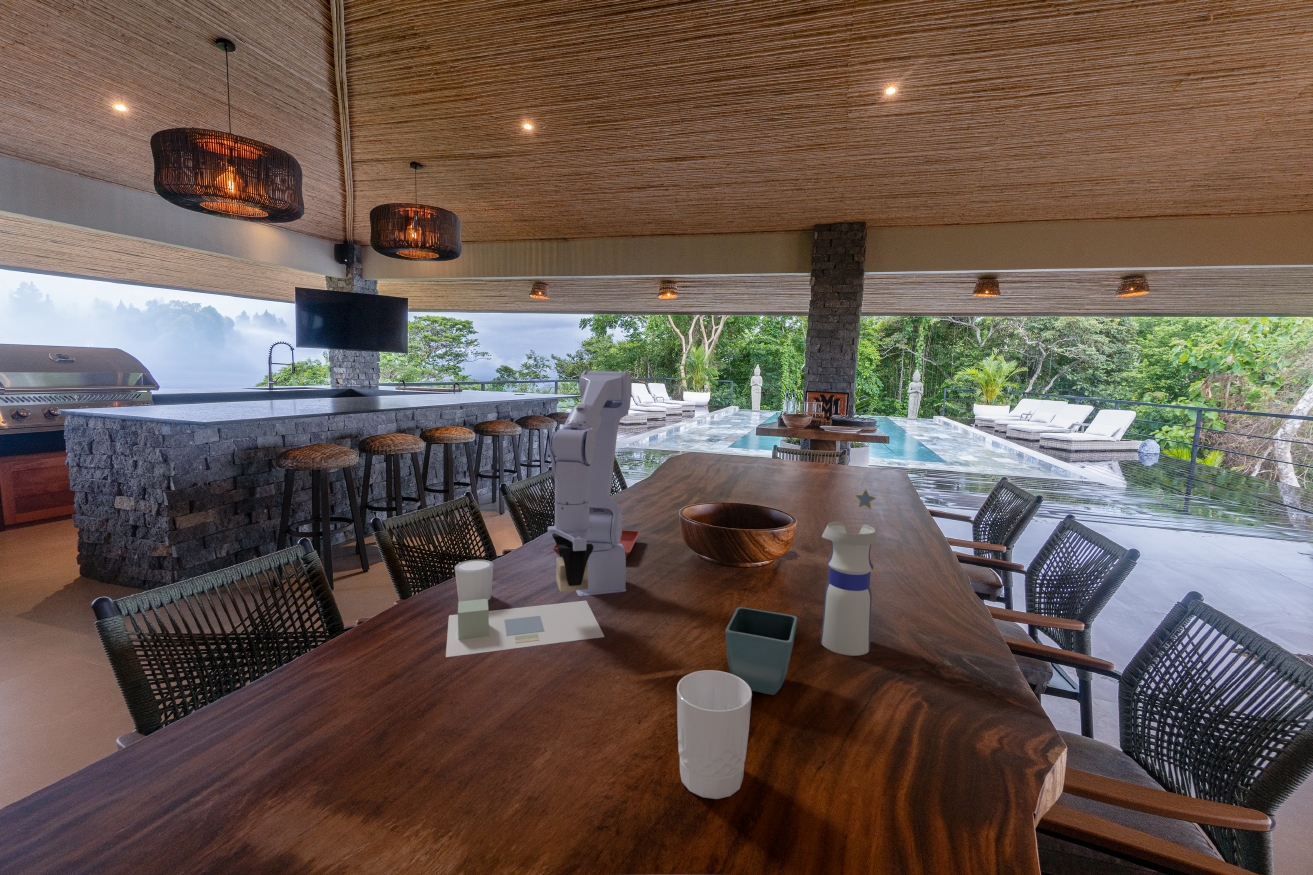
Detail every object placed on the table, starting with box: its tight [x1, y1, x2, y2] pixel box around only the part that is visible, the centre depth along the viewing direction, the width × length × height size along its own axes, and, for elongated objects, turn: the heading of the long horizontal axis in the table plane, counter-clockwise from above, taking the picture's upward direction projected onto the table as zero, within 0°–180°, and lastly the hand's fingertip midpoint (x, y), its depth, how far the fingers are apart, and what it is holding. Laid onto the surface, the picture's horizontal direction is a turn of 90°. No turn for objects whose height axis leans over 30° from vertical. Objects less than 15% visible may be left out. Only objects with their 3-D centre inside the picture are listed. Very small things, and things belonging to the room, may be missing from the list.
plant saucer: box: [552, 529, 641, 559], centre depth 137 cm, size 18×18×3 cm
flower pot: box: [725, 606, 798, 696], centre depth 79 cm, size 9×9×9 cm
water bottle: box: [820, 489, 880, 657], centre depth 91 cm, size 8×9×25 cm
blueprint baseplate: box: [445, 600, 605, 658], centre depth 95 cm, size 24×15×1 cm, turn 108°
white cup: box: [676, 669, 753, 800], centre depth 61 cm, size 8×8×10 cm
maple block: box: [555, 556, 588, 593], centre depth 96 cm, size 5×5×4 cm
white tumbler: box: [454, 559, 495, 602], centre depth 105 cm, size 7×7×7 cm
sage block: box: [457, 599, 490, 640], centre depth 92 cm, size 5×5×4 cm
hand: (572, 579), depth 97 cm, fingers closed on maple block, 5 cm apart
